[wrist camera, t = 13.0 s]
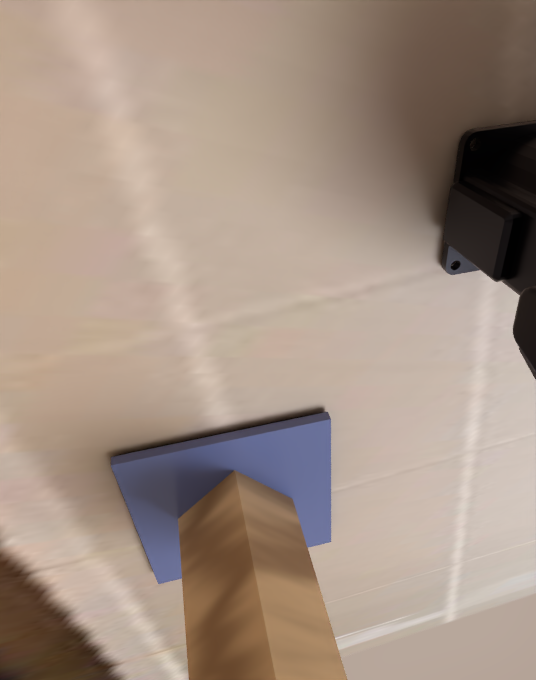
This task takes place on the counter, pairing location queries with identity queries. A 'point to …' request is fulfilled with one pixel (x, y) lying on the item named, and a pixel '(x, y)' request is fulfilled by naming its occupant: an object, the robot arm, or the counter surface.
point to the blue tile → (213, 467)
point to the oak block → (252, 589)
